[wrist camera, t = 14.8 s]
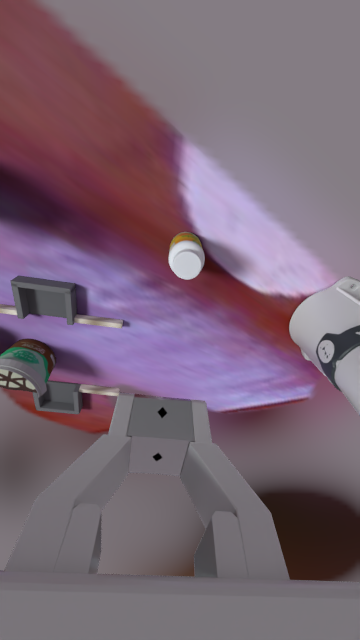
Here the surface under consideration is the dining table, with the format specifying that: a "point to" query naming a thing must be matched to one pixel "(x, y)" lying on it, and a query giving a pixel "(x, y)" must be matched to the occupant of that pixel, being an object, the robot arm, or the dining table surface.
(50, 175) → the dining table surface
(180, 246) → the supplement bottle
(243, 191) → the dining table surface
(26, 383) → the food container
